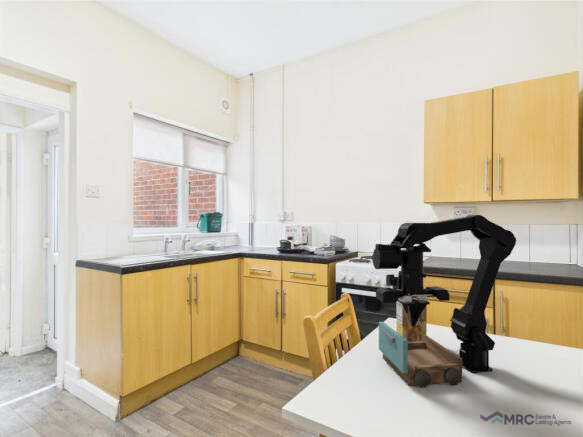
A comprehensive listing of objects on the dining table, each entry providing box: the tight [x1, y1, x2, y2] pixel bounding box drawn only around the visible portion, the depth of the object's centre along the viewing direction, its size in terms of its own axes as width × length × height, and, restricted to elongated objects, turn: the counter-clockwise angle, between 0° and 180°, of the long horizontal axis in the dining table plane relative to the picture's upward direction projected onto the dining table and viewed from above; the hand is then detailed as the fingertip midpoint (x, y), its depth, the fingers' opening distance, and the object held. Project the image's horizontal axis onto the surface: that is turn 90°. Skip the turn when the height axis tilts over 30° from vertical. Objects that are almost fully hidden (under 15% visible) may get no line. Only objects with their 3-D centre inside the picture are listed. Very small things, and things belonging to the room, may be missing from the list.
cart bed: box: [382, 335, 463, 389], centre depth 87 cm, size 14×18×6 cm
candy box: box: [395, 301, 428, 342], centre depth 105 cm, size 9×4×15 cm, turn 103°
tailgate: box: [378, 321, 408, 373], centre depth 86 cm, size 2×15×8 cm, turn 7°
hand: (412, 325), depth 87 cm, fingers closed
